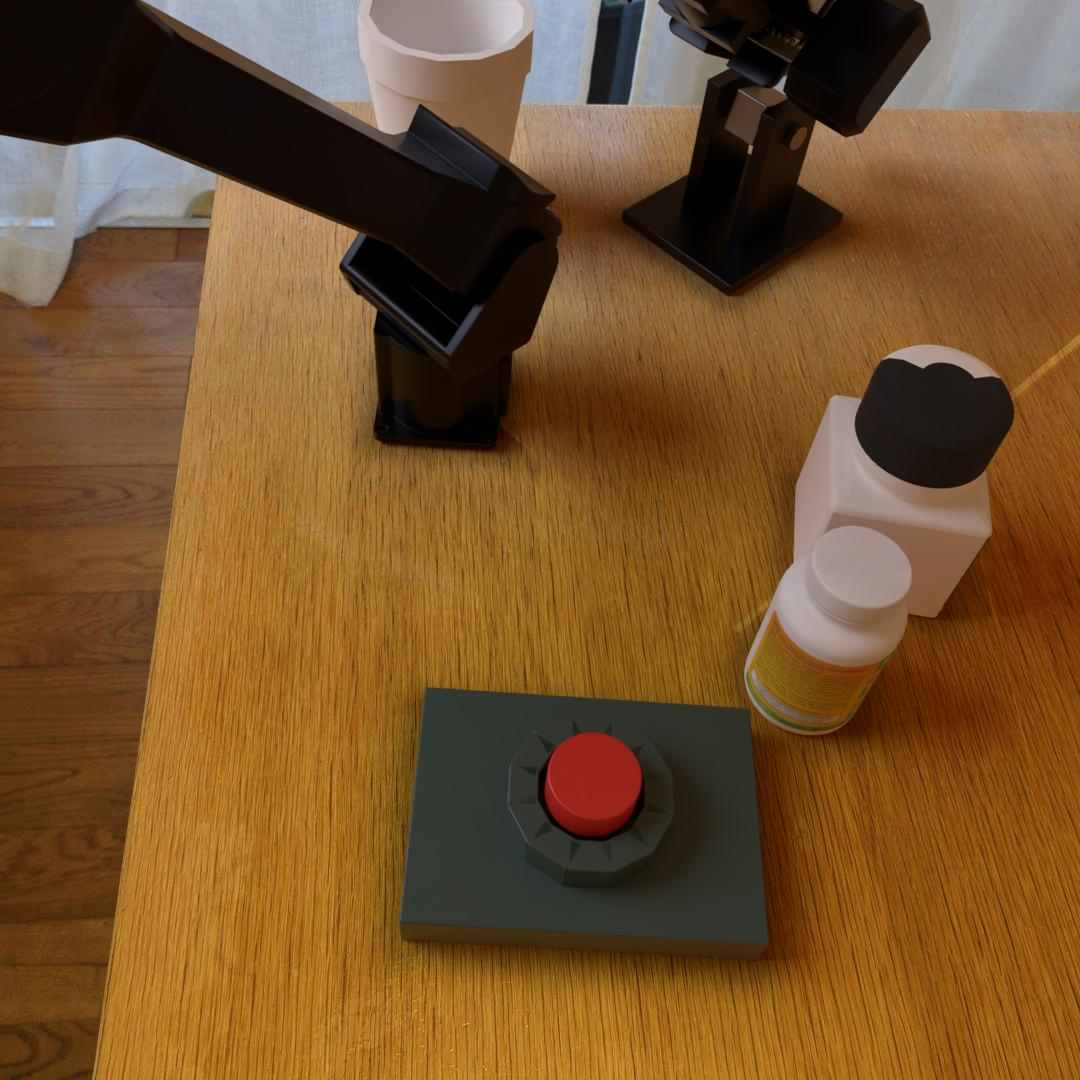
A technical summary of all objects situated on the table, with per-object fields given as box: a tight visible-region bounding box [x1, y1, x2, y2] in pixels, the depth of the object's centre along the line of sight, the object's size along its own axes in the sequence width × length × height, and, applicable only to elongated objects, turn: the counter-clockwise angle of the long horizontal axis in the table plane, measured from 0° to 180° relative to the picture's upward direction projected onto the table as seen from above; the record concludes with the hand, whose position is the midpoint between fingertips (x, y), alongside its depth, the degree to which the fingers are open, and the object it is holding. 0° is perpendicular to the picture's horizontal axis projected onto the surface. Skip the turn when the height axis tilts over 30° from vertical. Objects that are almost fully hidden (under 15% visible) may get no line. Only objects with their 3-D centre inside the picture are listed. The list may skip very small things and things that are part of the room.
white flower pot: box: [356, 0, 536, 161], centre depth 64 cm, size 10×9×13 cm
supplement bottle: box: [743, 526, 913, 736], centre depth 47 cm, size 5×5×10 cm
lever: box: [724, 85, 787, 147], centre depth 67 cm, size 12×3×3 cm, turn 133°
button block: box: [398, 686, 770, 961], centre depth 45 cm, size 14×10×4 cm
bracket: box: [621, 67, 844, 297], centre depth 67 cm, size 11×9×10 cm
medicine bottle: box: [793, 344, 1015, 618], centre depth 51 cm, size 7×7×12 cm
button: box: [545, 733, 642, 837], centre depth 43 cm, size 4×4×2 cm
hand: (787, 65), depth 63 cm, fingers closed
